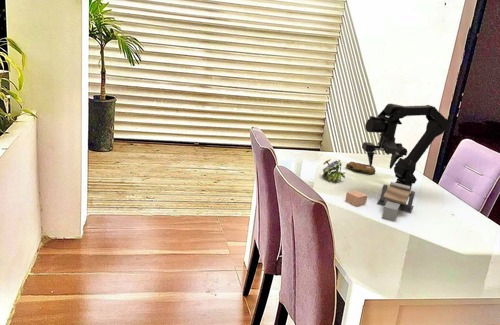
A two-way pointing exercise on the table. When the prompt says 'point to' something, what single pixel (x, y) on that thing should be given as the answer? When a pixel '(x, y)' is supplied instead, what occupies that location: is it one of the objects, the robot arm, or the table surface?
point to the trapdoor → (397, 193)
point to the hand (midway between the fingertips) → (380, 167)
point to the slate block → (390, 211)
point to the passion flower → (334, 167)
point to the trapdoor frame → (402, 207)
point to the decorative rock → (361, 167)
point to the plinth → (356, 198)
